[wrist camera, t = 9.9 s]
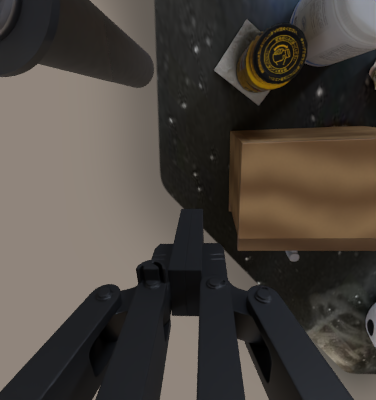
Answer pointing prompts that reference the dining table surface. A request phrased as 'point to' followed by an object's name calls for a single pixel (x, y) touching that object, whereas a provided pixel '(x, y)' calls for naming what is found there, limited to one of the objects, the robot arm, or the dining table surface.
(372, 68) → the pastry
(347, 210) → the cabinet
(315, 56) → the supplement tub
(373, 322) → the doce de leite tub
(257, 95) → the condiment
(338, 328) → the dining table surface
